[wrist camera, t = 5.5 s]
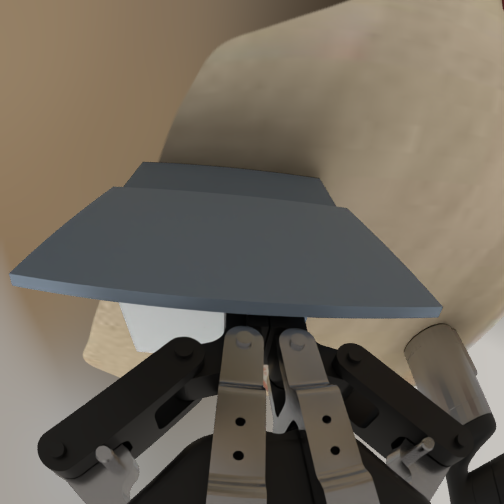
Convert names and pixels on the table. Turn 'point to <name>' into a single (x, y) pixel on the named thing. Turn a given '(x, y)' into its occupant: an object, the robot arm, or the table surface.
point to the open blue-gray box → (230, 182)
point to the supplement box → (169, 325)
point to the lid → (225, 258)
